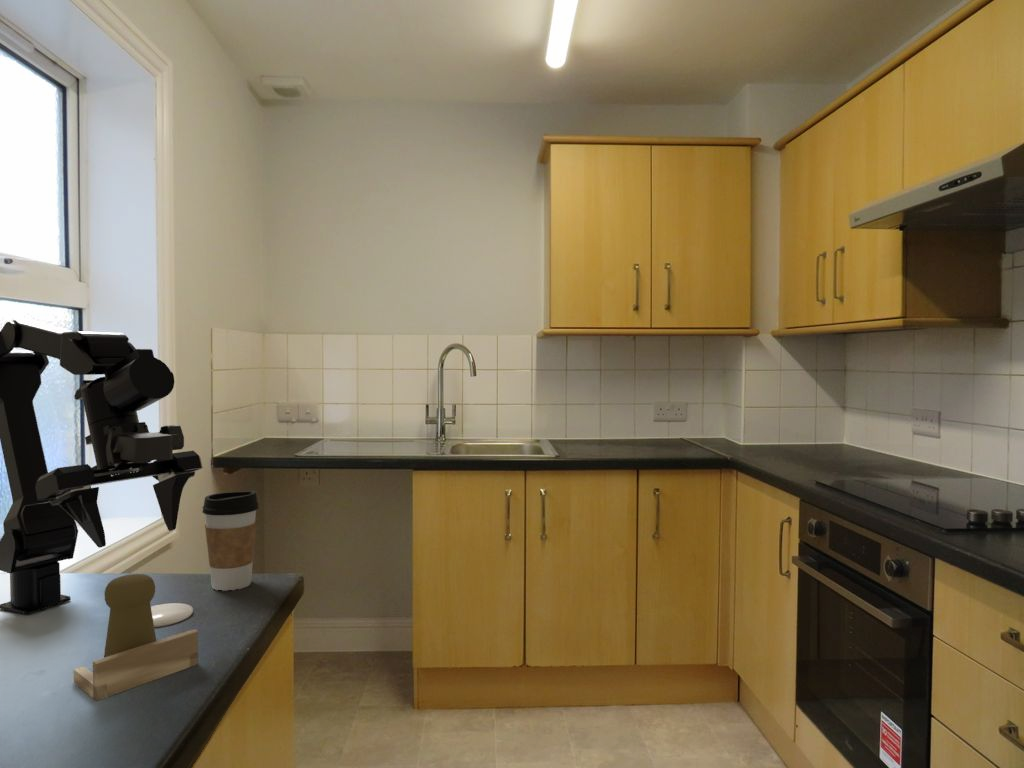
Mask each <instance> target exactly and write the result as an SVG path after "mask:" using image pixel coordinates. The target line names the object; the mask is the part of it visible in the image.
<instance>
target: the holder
mask: <svg viewBox="0 0 1024 768" xmlns="http://www.w3.org/2000/svg"><path fill="white" fill-rule="evenodd" d="M196 665H199V630H196V629H194V628H193V629H189V630H187V631H183V632H181V633H178V634H173V635H170V636H168V637H165V638H162V639H158V640H156V641H155V642H152V643H149V644H146V645H142V646H139V647H136V648H133V649H130V650H127V651H124V652H121V653H117V654H114V655H111V656H108V657H105V658H104V657H103V658H99V659H95V660H93V661H92V671H91V670H89V669H88V668H87V667H85V666H80V667H76V668H73V684H75V685H76V686H78V687H79V688H80V689H81V690H83V692H85V693H86V694H87V695H89V696H90V697H91V698H93V699H94V700H95V701H97V702H98V701H101V700H102V699H106V698H108V697H111V696H114V695H116V694H120V693H122V692H125V691H127V690H131V689H133V688H135V687H138V686H141V685H145V684H146V683H149V682H152V681H155V680H158V679H161V678H163V677H166V676H169V675H172V674H175V673H178V672H180V671H182V670H185V669H188V668H190V667H191V668H192V667H194V666H196Z"/></svg>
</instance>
